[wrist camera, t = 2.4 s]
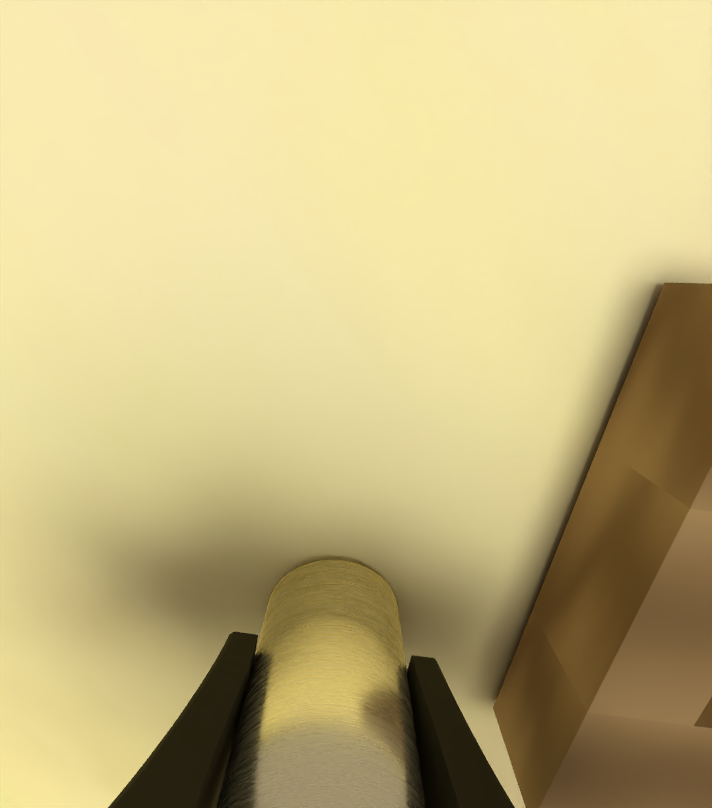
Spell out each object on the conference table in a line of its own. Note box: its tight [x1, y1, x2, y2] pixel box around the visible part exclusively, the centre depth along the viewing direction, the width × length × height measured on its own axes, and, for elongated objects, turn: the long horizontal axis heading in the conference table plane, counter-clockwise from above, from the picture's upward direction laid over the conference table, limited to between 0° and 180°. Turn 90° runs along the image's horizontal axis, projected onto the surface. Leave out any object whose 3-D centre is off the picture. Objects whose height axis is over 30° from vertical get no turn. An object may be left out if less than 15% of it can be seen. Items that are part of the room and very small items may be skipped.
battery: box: [216, 560, 426, 808], centre depth 9 cm, size 4×4×7 cm
